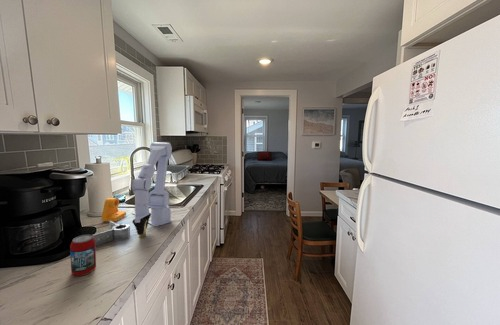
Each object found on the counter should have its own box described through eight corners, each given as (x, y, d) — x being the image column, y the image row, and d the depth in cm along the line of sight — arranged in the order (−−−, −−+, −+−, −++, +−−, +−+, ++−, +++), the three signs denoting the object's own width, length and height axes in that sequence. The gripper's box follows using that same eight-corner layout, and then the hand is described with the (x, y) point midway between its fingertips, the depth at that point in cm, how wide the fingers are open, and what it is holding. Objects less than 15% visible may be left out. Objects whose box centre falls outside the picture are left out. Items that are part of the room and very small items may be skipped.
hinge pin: (144, 233, 103) (144, 217, 102) (148, 236, 101) (148, 220, 100) (136, 236, 100) (135, 220, 99) (140, 239, 98) (139, 222, 97)
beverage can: (68, 279, 69) (66, 244, 68) (74, 268, 75) (72, 235, 74) (94, 274, 72) (93, 240, 71) (97, 263, 78) (96, 232, 77)
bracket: (115, 223, 114) (114, 201, 113) (101, 222, 114) (100, 200, 113) (126, 215, 125) (126, 195, 124) (114, 215, 125) (114, 195, 124)
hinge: (117, 228, 108) (117, 218, 107) (132, 236, 100) (132, 226, 99) (83, 238, 96) (82, 228, 95) (96, 249, 88) (96, 237, 87)
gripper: (137, 199, 105) (138, 225, 106) (126, 208, 91) (127, 239, 92) (153, 198, 106) (153, 225, 108) (144, 208, 92) (144, 238, 94)
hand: (142, 231), depth 100 cm, fingers open, 5 cm apart
